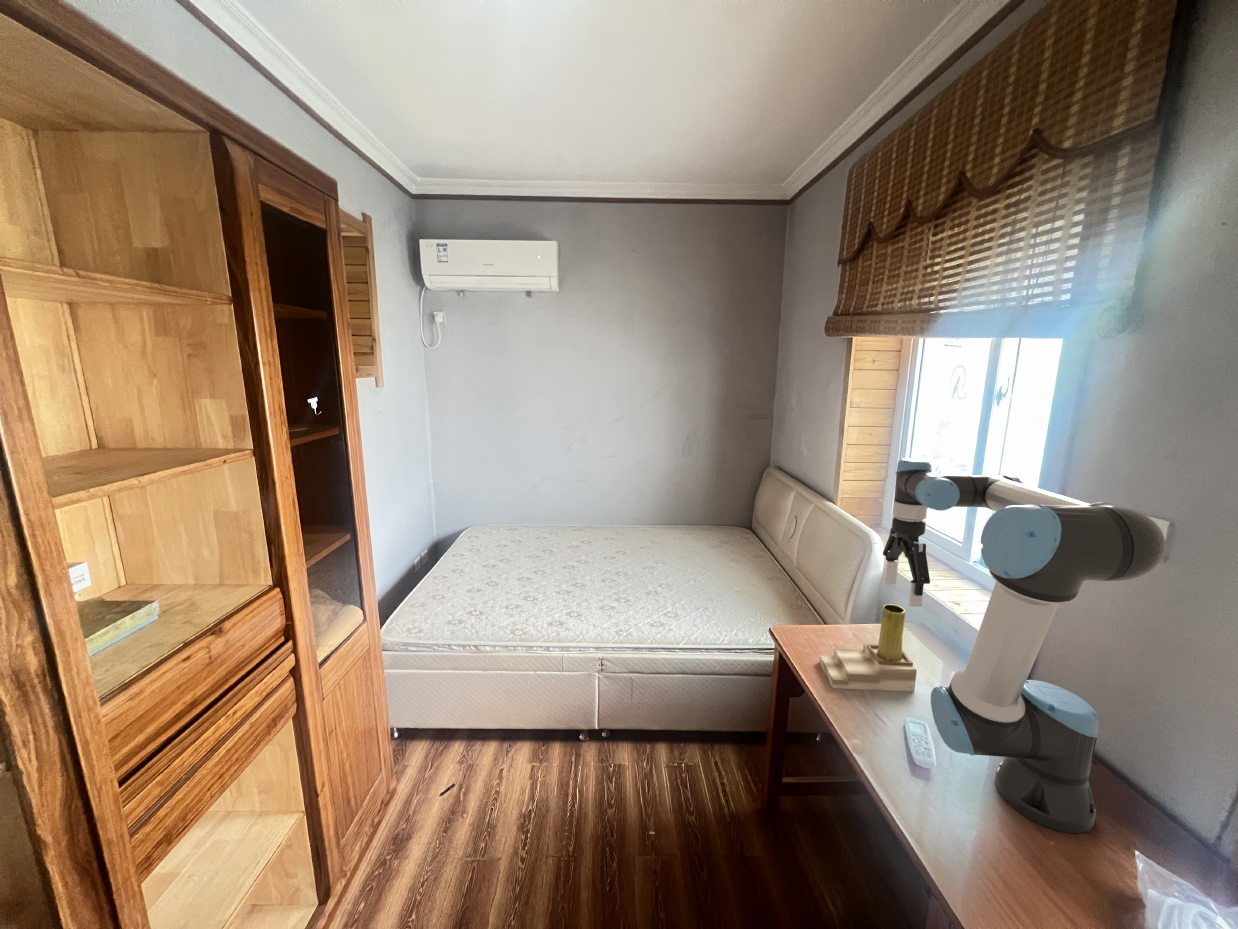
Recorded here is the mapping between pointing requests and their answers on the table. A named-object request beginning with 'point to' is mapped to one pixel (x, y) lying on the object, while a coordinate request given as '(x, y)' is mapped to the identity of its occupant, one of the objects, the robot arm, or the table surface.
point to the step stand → (868, 670)
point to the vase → (891, 633)
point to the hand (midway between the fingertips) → (902, 594)
